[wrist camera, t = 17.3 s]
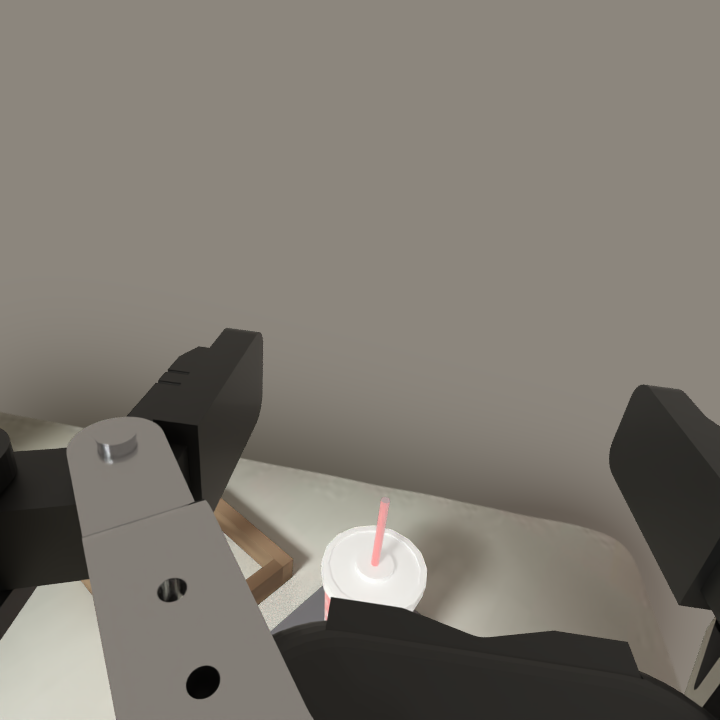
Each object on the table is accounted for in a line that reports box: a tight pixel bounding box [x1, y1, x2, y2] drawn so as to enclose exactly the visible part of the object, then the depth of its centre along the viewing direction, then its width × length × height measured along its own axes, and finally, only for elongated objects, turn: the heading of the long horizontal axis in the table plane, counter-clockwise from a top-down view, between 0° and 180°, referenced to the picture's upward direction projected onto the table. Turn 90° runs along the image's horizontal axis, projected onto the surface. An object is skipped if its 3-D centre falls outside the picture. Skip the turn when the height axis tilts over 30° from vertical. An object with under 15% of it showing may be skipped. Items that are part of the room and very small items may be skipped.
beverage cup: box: [321, 497, 427, 621], centre depth 30 cm, size 6×6×14 cm
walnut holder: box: [81, 498, 293, 605], centre depth 38 cm, size 11×11×2 cm
